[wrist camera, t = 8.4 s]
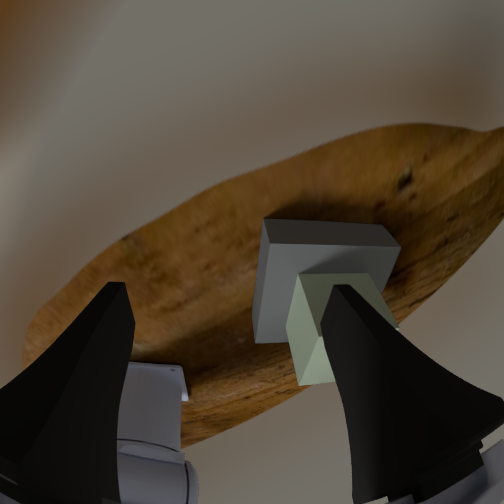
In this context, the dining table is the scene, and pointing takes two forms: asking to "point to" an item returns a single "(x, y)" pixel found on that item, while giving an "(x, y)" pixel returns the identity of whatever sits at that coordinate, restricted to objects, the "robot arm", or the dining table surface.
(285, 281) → the gray plinth
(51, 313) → the dining table surface
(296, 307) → the green cube
